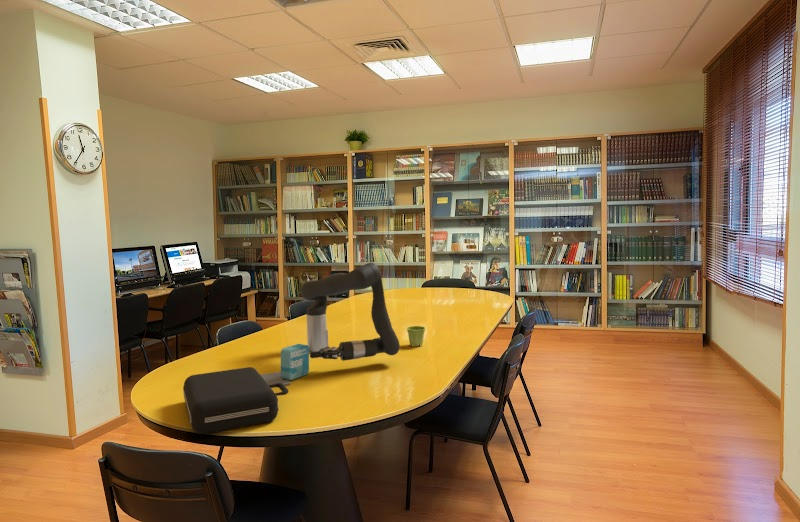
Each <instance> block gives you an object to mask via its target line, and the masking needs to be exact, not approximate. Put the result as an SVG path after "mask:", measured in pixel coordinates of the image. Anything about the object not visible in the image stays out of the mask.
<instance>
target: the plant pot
mask: <svg viewBox="0 0 800 522" xmlns="http://www.w3.org/2000/svg"><path fill="white" fill-rule="evenodd" d="M406 331H407V333H408V340H409V346H411V345H413V346H417V347H419V345H422V344H423V343H424V336H425V331H426V327H425V326H421V325H411V326H408V327H406ZM422 346H423V345H422Z"/></svg>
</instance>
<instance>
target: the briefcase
mask: <svg viewBox="0 0 800 522" xmlns="http://www.w3.org/2000/svg"><path fill="white" fill-rule="evenodd" d="M182 386H183V387H182V389H183V390H182V391H183V392H182V393H183V399H184V401H185V406H186V410H187V414H188V418H189V423H190V425H191V428H192V430H193V431H194V432H195V433H196V434H198V435H207V434H213V433H218V432H224V431H229V430H236V429H240V428H245V427H246V428H247V427H250V426H256V425H262V424H266V423H272V421H275V419H276V418H277V416H278V414H279V399H278V396H284V395H287V394H289V389H288V388H287V386H285V385H284V384H282V383H276V384H272V385H268V384H267V383H266V381H265V380H264V379H263V378H262V376H261V375H260V373H259V372H258V370H257V369H256V368H255V367H251V366H248V367H240V368H233V369H227V370H219V371H212V372H204V373H197V374H191V375H189V376H188V377H187V378H186V379H185V380H184V382H183V385H182ZM270 387H272V388H278V389H280V392H274V390H273V389H272V388H270Z"/></svg>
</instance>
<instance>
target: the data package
mask: <svg viewBox="0 0 800 522" xmlns="http://www.w3.org/2000/svg"><path fill="white" fill-rule="evenodd" d="M309 371H310V351H309V346H308V344H303V343H302V344H301V343H297V344H293V345H290V346H286V347H283V348H282V349H281V351H280V372H281V378H283V379H288V381H293V380H296V379H299V378H302V377H304V376H306V375H308V373H310V372H309Z"/></svg>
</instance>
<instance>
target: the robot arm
mask: <svg viewBox="0 0 800 522" xmlns="http://www.w3.org/2000/svg"><path fill="white" fill-rule="evenodd" d="M368 288H371V291H372V303H371V311H370V313H371V319H372V323H373V326H374V329H375V332H376V334H378V336H379V337H376V338H373V339H362V340H359V339H358V340H350V341H349V340H348V341H342V342H340V343H339V344H338V347H337V346H331V347H330V346H329V330H328V329H327V308H328V296H337V295H341V294H345V293H348V292H350V291H357V290H358V291H359V290H365V289H368ZM300 292H301V296H302V297H303V299H304V300H306V301H311V302H312V301H314V302H313V304H311V305H310V306H309V307H307V308H306V310H305V311H306V312H305V313H306V334H307V335H306V336H307V345H308V346H309V358H311V359H317V358H321V359H324V360H337V359H338V358H340V360H341V361H343V362H344V361H351V360H353V361H354V360H359V359H363V358H369V357H375V356H376V355H378V354H384V353H385V354H386V355H388V356H395V355H397V354H398V353H399V351H400V347H401V346H400V345H401V344H400V341H399V339H398V336H397V334H396V332H395V331H394V329H393V326H392V322H391V319H390V316H389V313H388V309H387V304H386V300H385V292H384V285H383V278H382V274H381V269H379V267H378V265H377V264H375V263H373V262H368V263H365V264H363V265H360V266H358V267H356V268H355V269H352V270H351V271H348V272H347V273H345V272H337V273H334V274H333V273H332V274H331V275H328V276H327V275H326V276H325V277H323V278H320V279H315V280H308V281H305V282H304V283H303V285H302V286H301V287H300Z"/></svg>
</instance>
